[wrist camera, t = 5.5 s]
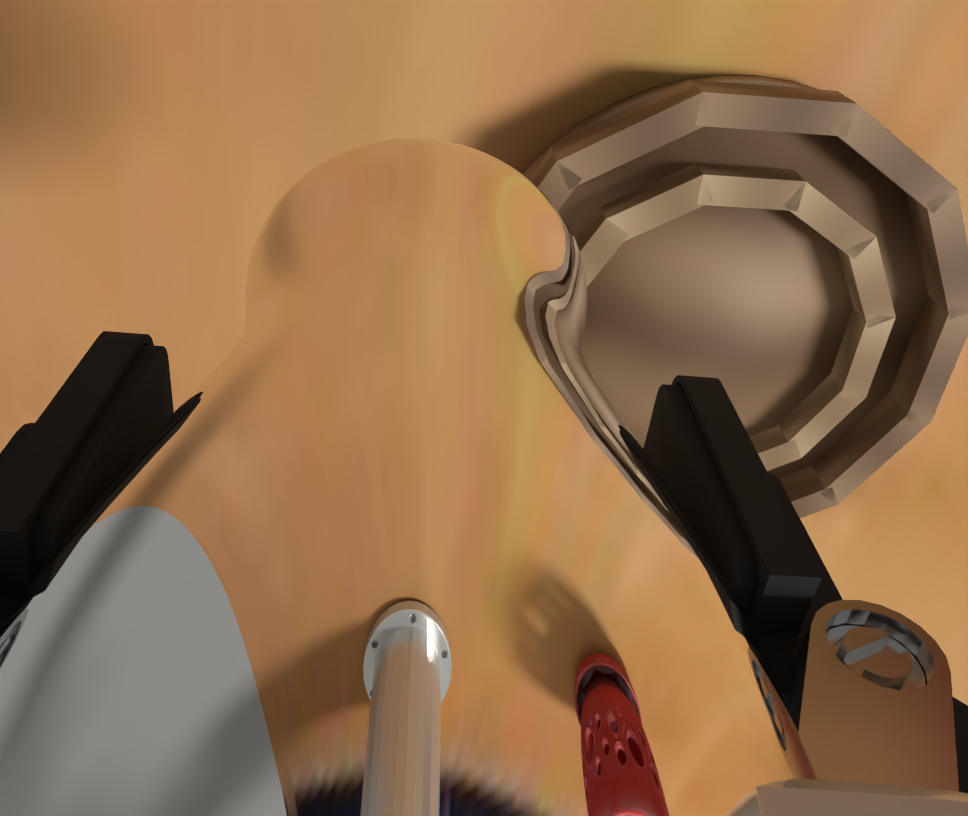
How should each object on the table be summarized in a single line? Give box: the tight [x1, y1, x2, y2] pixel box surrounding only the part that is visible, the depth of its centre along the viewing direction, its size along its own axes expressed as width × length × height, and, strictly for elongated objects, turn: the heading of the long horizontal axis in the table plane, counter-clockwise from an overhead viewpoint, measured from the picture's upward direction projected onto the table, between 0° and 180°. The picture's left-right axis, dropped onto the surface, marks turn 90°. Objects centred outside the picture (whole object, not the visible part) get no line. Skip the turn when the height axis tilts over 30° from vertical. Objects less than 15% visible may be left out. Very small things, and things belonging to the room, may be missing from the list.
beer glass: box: [0, 138, 819, 816], centre depth 10 cm, size 7×7×15 cm
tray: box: [522, 75, 968, 518], centre depth 32 cm, size 18×18×3 cm
